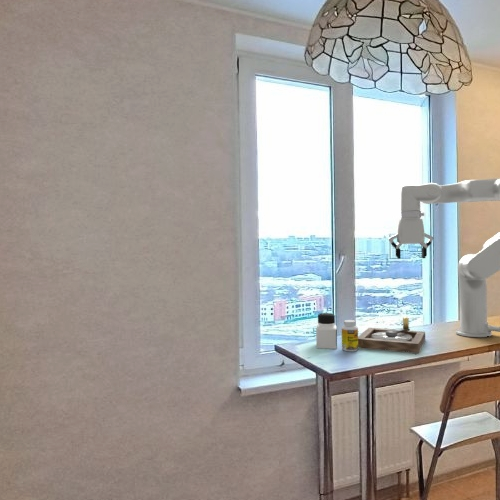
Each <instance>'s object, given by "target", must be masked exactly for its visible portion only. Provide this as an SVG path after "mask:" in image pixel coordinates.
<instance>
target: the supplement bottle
mask: <svg viewBox="0 0 500 500" xmlns="http://www.w3.org/2000/svg"><path fill="white" fill-rule="evenodd" d="M356 325H357V324H356V320H354V319H353V320H352V319H346V320H343V325H342V326H341V349H342V350H343V352H344V351H345V352H351V353H352V352H357V351H358V350H359V348H358V336H359V327H358V326H356Z"/></svg>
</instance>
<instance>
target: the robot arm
mask: <svg viewBox="0 0 500 500" xmlns="http://www.w3.org/2000/svg"><path fill="white" fill-rule="evenodd" d="M399 192H400V193H399V196H400V197H399V199H400V201H399V202H400V203H399V204H400V219H398V220H397V227H396V228H397V230H396V234H394V235H392V236H391V237H388V241H389V243H390V245H391V246H392V247H393V248H394V249H395V257H396V259H397V260H401V249H400V247H402V245H410V244H411V245H415V244H417V245H420V247H422V248H421V258H422V259H426V258H427V255H428V253H427V252H428V250H427V249H428V248H429V246H431V245H432V242H433V240H434V236H431V235H429V234H427V233H426V232H425V227H424V221H423V218H422V217H424V216H425V213H424V212H422V210H421V203H422V204H427V205H431V204H432V205H433V204H451V203H454V204H455V203H463V204H464V203H476V202H479V203H480V202H499V201H500V178H487V179H469V180H463V181H460V182H457V183H451V184H443V185H442V184H440V185H439V184H438V183H434V182H429V183H422V184H406V185H402V186H401V187H400V190H399ZM426 238H427V240H428V241H427V242H425V239H426ZM395 239H396V242H397V243H395V242H394V240H395ZM499 271H500V231H499V232H498V233H496V234H495V235H493V236H492V237H490V238H489V239H487V240H486V241H485V242H484V243H483V245H482V249H481V250H480V251H479V252H477V253H468V254H465V255H463V256H462V257H461V258H460V260H459V261H458V264H457V273H458V274H457V275H458V284H459V328H457V329H456V330H455V334H456V335H458V336H463V337H469V338H488V337H487V336H489V337H492V335H493V333H492V332H495V333H496V332H500V326H497V325H491V324H489V323H488V303H487V302H488V297H487V295H488V293H487V292H488V289H487V288H488V287H487V280H486V279H489V278H491V277H492V276H493V275H495V274H497V272H499Z"/></svg>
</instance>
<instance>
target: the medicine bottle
mask: <svg viewBox="0 0 500 500" xmlns="http://www.w3.org/2000/svg"><path fill="white" fill-rule="evenodd" d="M335 317H336V315H335V314H334V313H332V312H321V313H319V314H318V315H317V325H316V328H315V332H316V333H315V334H316V335H315V336H316V337H315V338H316V339H315V341H316V342H315V343H316V345H315V347H316V349H321V348H327V349H329V350H336V349H338V335H337V334H338V333H337V329H338V326H337V325H336V319H335Z"/></svg>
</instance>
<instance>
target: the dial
mask: <svg viewBox="0 0 500 500" xmlns="http://www.w3.org/2000/svg"><path fill="white" fill-rule="evenodd" d="M409 321H410V320H409V317H405V316H404V317H402V328H399V329H395V330H394V331H386V332H378V333H374V334H372V338H373V339H385V340H397V341H410V342H412V336H411V335H408V334H405V333H401V332H406V331H411V329H410V328H409V326H410V324H409V323H410V322H409Z"/></svg>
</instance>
